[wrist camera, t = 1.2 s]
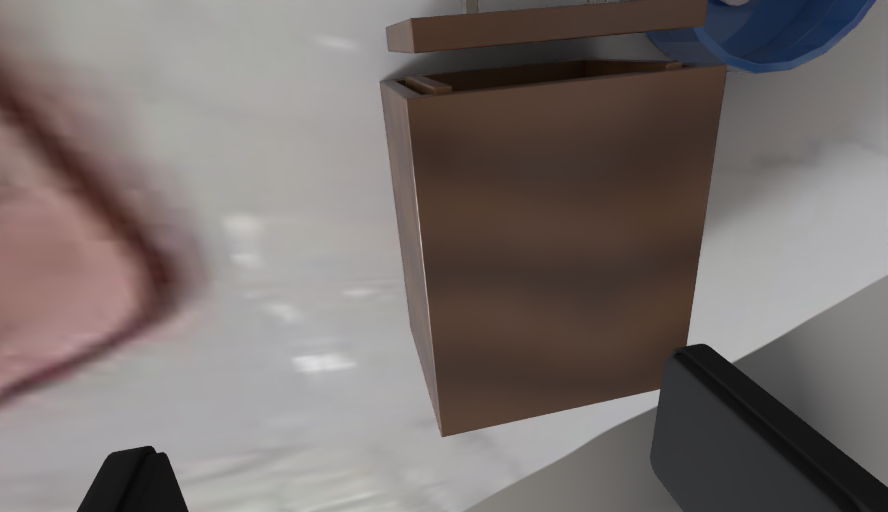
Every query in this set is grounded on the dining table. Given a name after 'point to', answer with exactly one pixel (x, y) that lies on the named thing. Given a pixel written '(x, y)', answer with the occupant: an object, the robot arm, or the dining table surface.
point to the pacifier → (735, 2)
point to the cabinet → (550, 235)
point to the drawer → (538, 39)
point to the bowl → (763, 33)
